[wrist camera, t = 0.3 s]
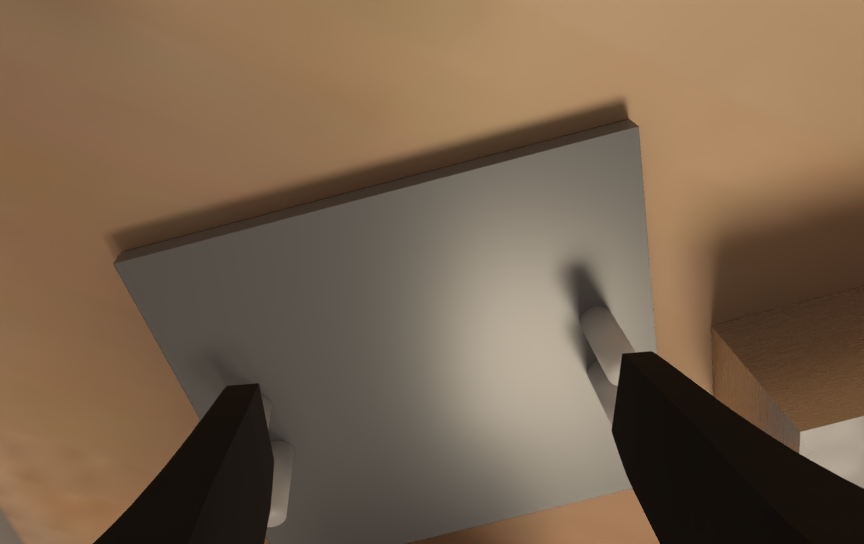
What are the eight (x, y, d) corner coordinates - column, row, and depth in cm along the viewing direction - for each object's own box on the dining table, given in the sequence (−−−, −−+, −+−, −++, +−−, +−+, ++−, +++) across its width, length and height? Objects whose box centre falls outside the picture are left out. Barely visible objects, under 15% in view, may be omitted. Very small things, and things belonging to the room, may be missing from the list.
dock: (659, 466, 29) (698, 538, 25) (287, 557, 29) (278, 640, 26) (629, 119, 21) (680, 159, 18) (121, 252, 21) (77, 315, 18)
